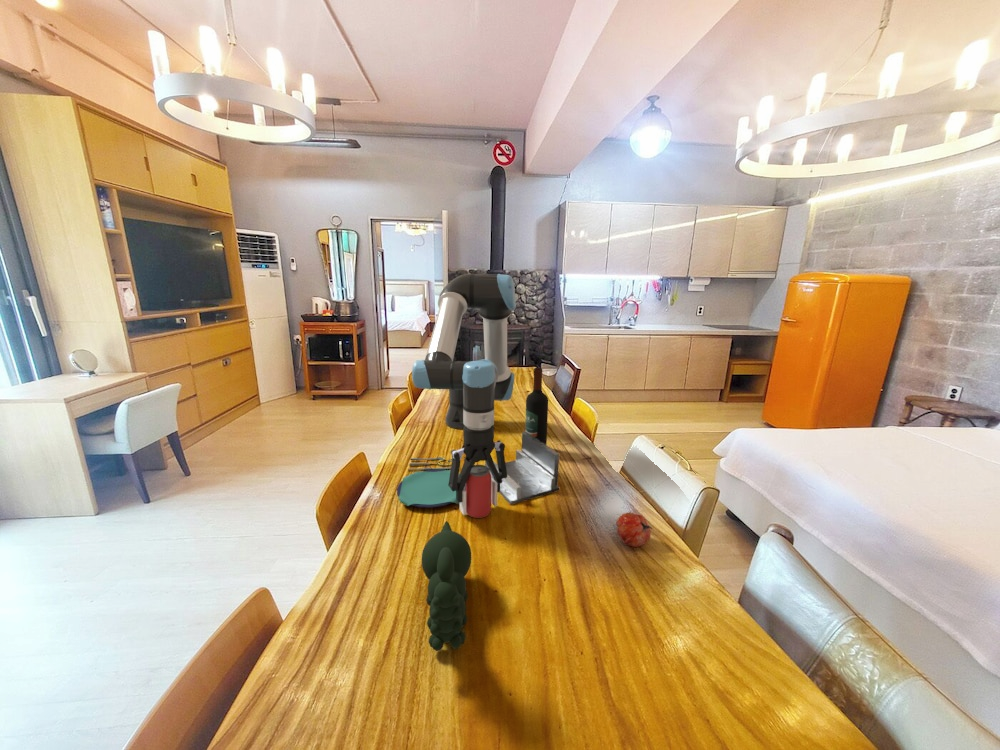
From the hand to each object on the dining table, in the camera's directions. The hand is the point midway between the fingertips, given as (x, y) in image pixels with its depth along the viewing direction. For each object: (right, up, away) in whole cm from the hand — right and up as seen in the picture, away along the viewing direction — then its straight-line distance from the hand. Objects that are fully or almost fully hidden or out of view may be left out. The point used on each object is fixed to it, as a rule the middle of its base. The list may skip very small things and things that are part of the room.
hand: (478, 507), depth 96 cm
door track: (+11, +2, +16) cm, 19 cm away
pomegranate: (+36, -5, -10) cm, 38 cm away
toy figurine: (-4, -8, -28) cm, 29 cm away
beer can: (0, -1, 0) cm, 1 cm away
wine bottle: (+18, +7, +36) cm, 41 cm away
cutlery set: (-14, +2, +14) cm, 20 cm away
